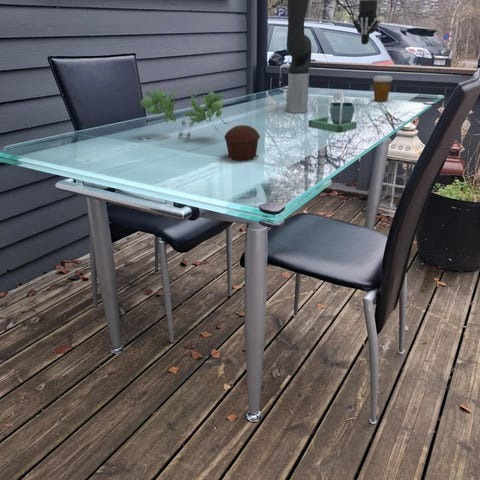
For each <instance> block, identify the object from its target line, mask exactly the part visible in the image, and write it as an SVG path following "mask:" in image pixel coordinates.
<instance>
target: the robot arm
mask: <svg viewBox="0 0 480 480" xmlns="http://www.w3.org/2000/svg"><path fill="white" fill-rule="evenodd" d="M378 2H379V0H358V14H357V15H358V16H357V18H356V19H355V20H353V21H352V23H353V26H354V28H355V29H356V31H357V33H358V34H361V44H362V45H368V44H369V43H370V42H369V40H370V39H369V38H370V35H371V34H374V33H375V31H376V30H377V28H378V27H379V25H381V20H380V19H378V16H377V10H378ZM286 4H287V36H286V37H287V38H286V51H287V53H288V55H289V56H290V57H291V61H290V65H289V66H288V76H287V77H288V79H287V81H288V84H287V86H288V87H287V90H286V96H285V97H286V101H285V102H286V105H285V106H286V109H285V110H286V111H287V112H288V113H291V114H292V113H295V114H301V113H302V114H303V113H307V112H308V101H309V98H308V97H309V77H310V67H311V62H312V48H313V47H312V41H311V39H310V37H309V36H308V35H306V34H305V20H306V16H307V10H308V6H309V0H287V3H286Z"/></svg>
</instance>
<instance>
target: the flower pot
mask: <svg viewBox="0 0 480 480" xmlns="http://www.w3.org/2000/svg"><path fill="white" fill-rule="evenodd" d="M329 104H330V105H329V106H330V119H331V122H332V124H337V125H339V119H340V104H341V102H330V103H329ZM354 111H355V105H354V103H353V102H343V106H342V120H341V125H342V124H345V123H349V122H353V117H354Z"/></svg>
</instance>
